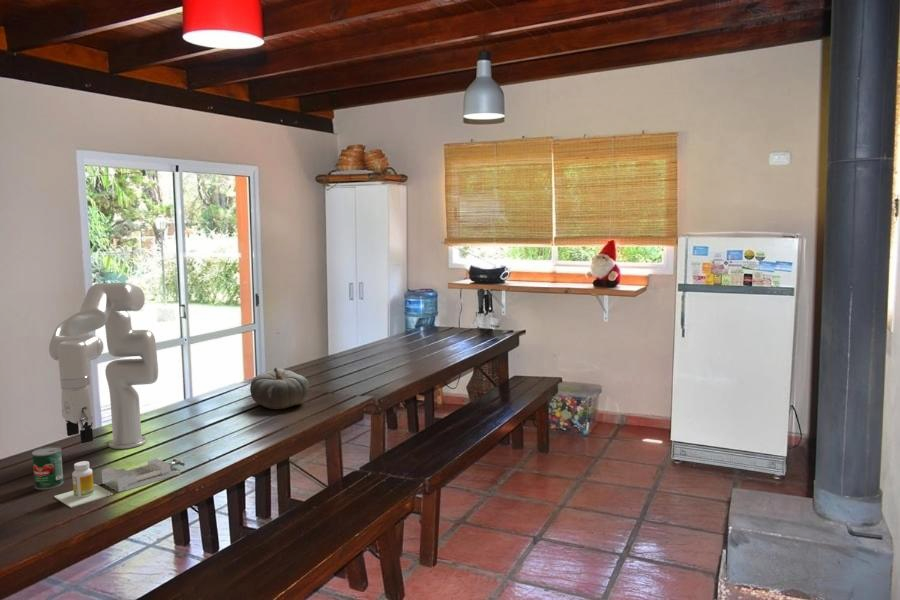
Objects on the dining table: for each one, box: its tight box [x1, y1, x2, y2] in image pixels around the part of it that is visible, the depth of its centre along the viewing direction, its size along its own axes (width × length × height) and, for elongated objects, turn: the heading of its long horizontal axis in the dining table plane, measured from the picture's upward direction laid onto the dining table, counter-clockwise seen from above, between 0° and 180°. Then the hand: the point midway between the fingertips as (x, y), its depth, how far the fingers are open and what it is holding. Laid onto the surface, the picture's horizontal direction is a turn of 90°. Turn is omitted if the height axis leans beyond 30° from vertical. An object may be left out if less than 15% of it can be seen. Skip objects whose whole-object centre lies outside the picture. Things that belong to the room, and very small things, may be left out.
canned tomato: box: [31, 446, 64, 490], centre depth 215 cm, size 8×8×11 cm
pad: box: [53, 483, 114, 508], centre depth 206 cm, size 12×12×1 cm
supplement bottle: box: [71, 460, 94, 498], centre depth 206 cm, size 5×5×10 cm
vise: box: [101, 458, 186, 493], centre depth 221 cm, size 12×23×4 cm, turn 140°
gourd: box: [249, 367, 310, 410], centre depth 304 cm, size 25×25×17 cm
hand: (80, 438), depth 205 cm, fingers open, 9 cm apart
